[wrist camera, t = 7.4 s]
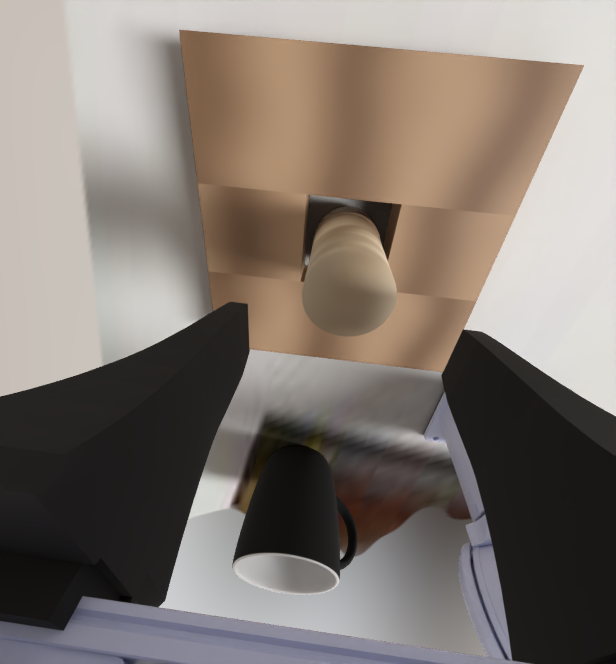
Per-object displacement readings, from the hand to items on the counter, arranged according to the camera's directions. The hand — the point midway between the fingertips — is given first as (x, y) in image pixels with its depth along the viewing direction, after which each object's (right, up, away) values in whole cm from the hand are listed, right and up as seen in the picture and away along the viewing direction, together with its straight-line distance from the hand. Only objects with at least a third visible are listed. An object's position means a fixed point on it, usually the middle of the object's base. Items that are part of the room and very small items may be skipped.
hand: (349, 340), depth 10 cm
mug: (-1, -15, +23) cm, 27 cm away
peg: (+1, +6, +8) cm, 10 cm away
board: (+1, +6, +8) cm, 10 cm away
